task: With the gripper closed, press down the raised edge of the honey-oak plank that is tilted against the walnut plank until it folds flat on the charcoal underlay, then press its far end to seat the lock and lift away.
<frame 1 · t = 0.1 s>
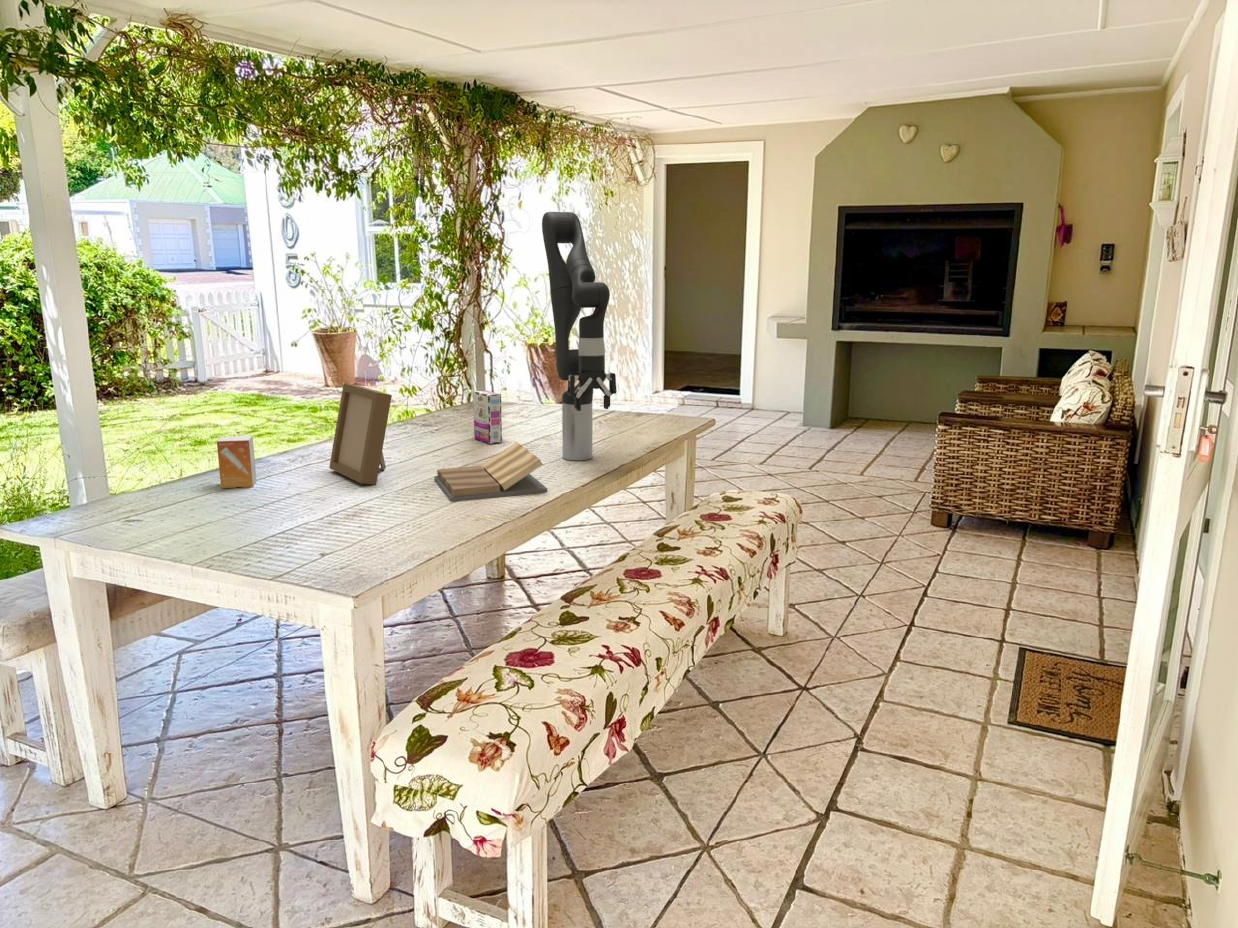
hand: (592, 409, 252), 17 cm above the table, tool pointing down, fingers open, 8 cm apart
small box: (239, 486, 234), on the table
oak plank: (511, 464, 236), point 5 cm above the table, hinge at 30.0°
walnut plank: (467, 487, 233), resting on underlay mat
photo frame: (370, 475, 245), on the table
candy bar box: (488, 441, 290), on the table
underlay mat: (490, 485, 235), on the table
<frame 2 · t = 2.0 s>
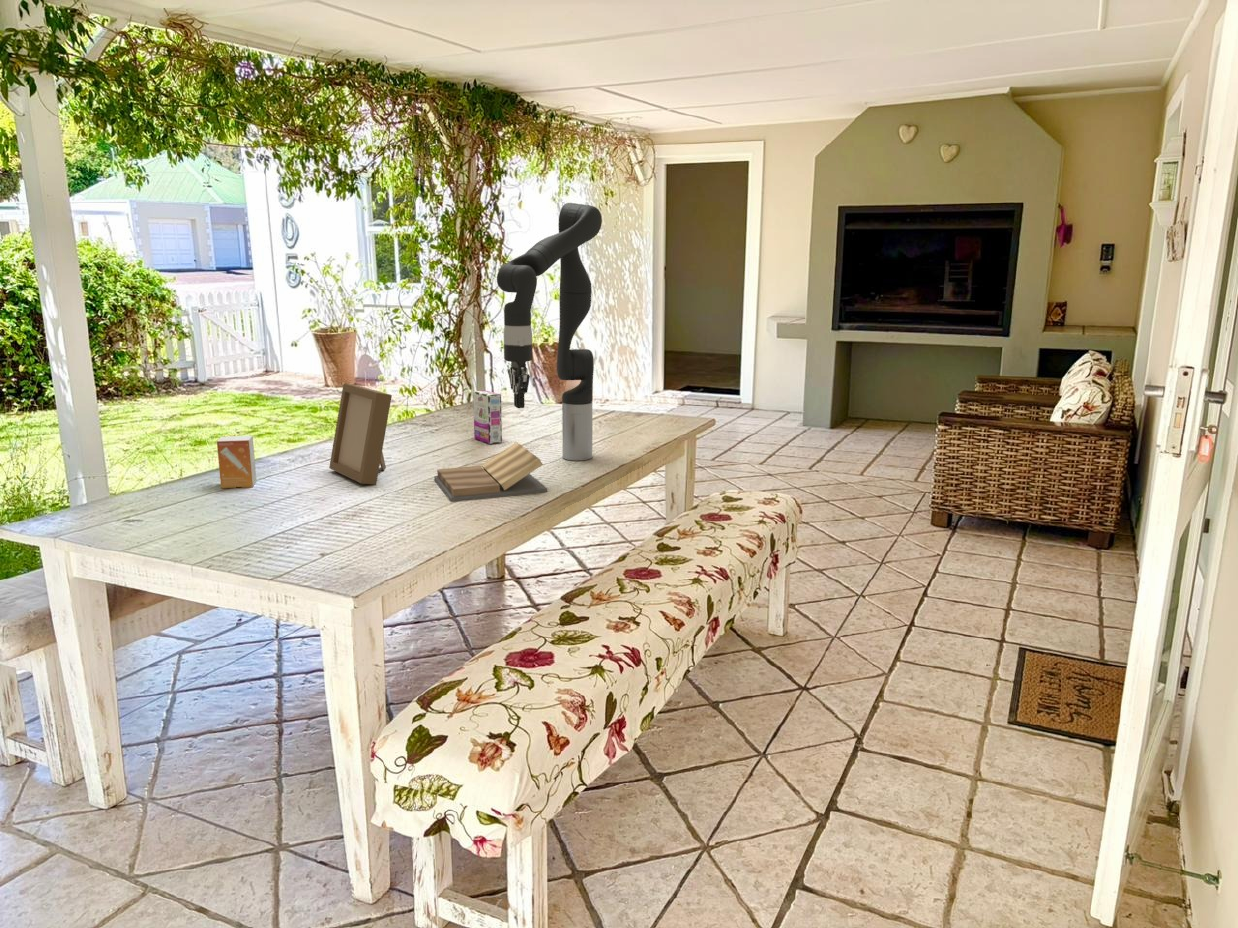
hand: (519, 407, 233), 21 cm above the table, tool pointing down, fingers closed
nothing on the table moved.
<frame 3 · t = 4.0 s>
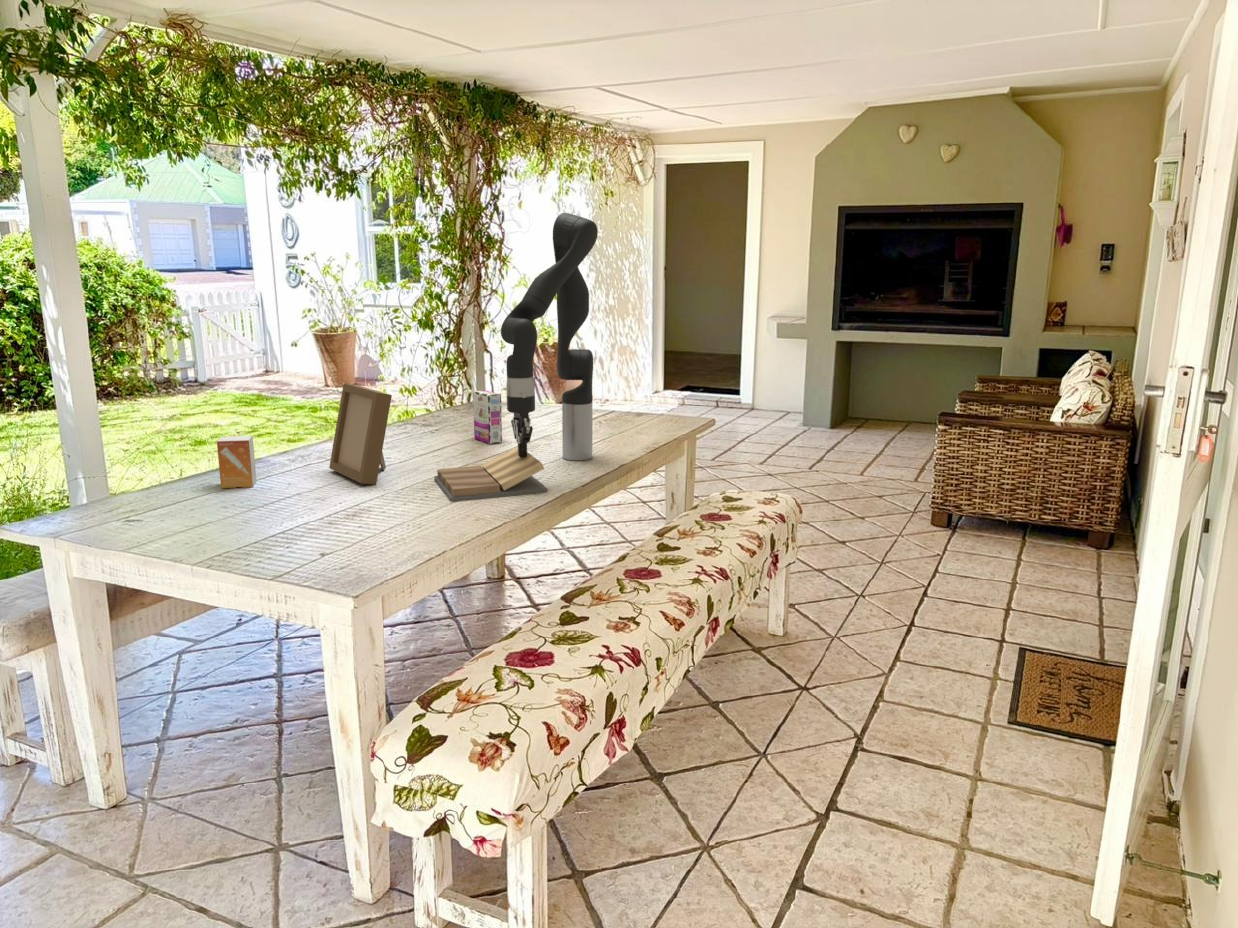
hand: (522, 456, 236), 7 cm above the table, tool pointing down, fingers closed
oak plank: (511, 467, 236), point 5 cm above the table, hinge at 24.1°, touching gripper
everything else where it was.
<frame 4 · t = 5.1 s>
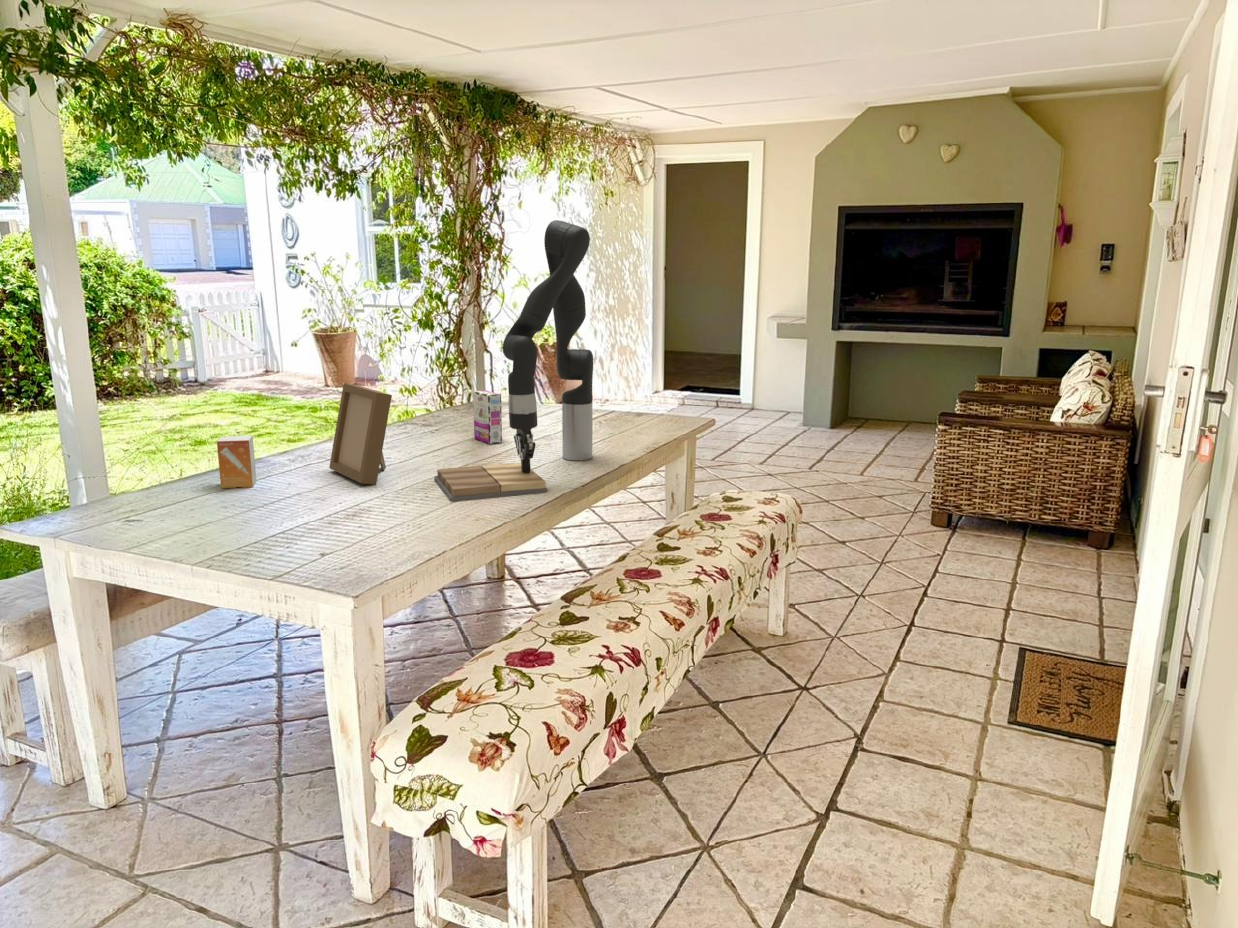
hand: (526, 472, 238), 3 cm above the table, tool pointing down, fingers closed
oak plank: (512, 476, 237), point 2 cm above the table, hinge at -0.5°, touching gripper, underlay mat
everything else where it was.
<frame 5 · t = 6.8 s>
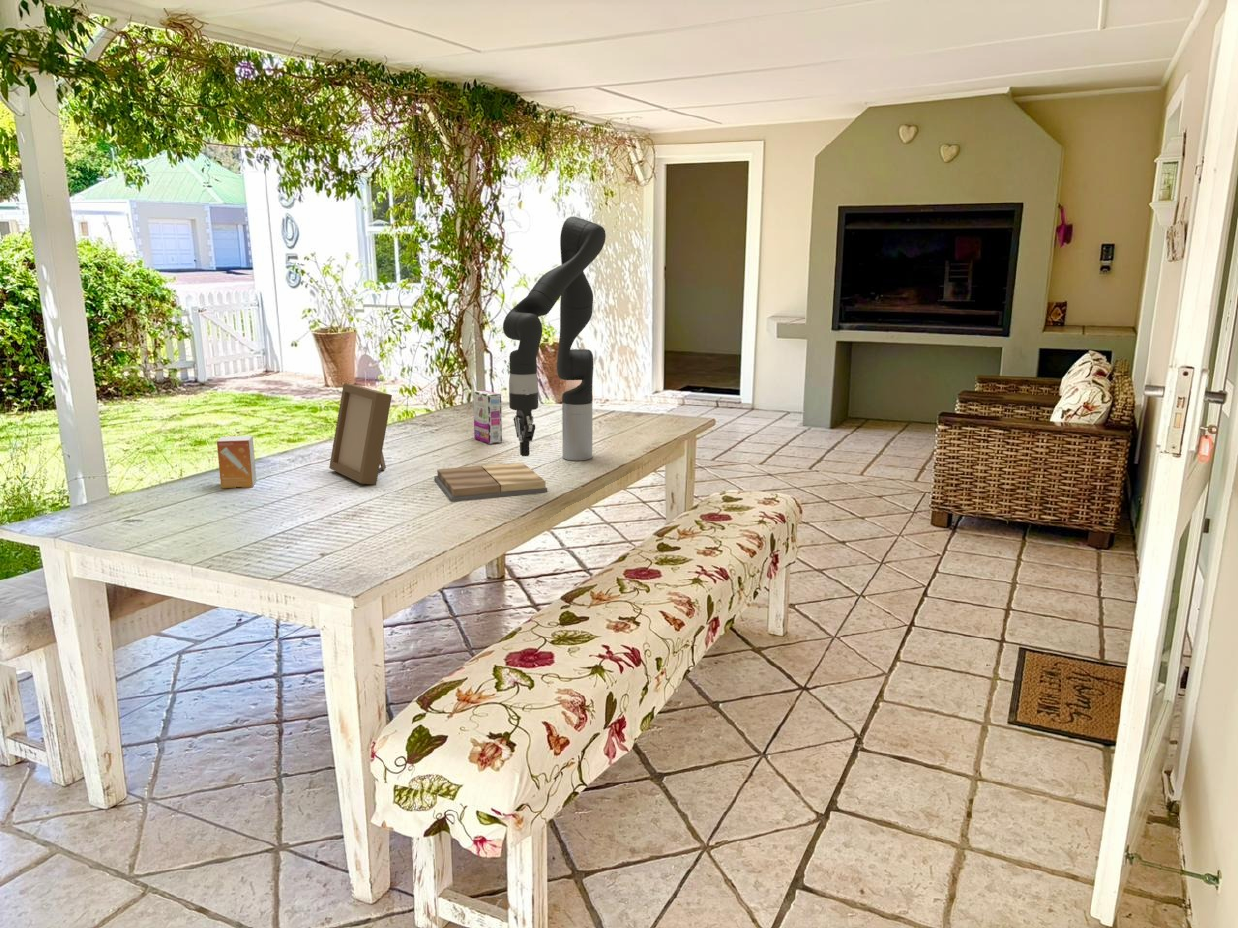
hand: (524, 455, 229), 9 cm above the table, tool pointing down, fingers closed
oak plank: (512, 476, 237), point 2 cm above the table, hinge at -0.5°, touching underlay mat
everything else where it was.
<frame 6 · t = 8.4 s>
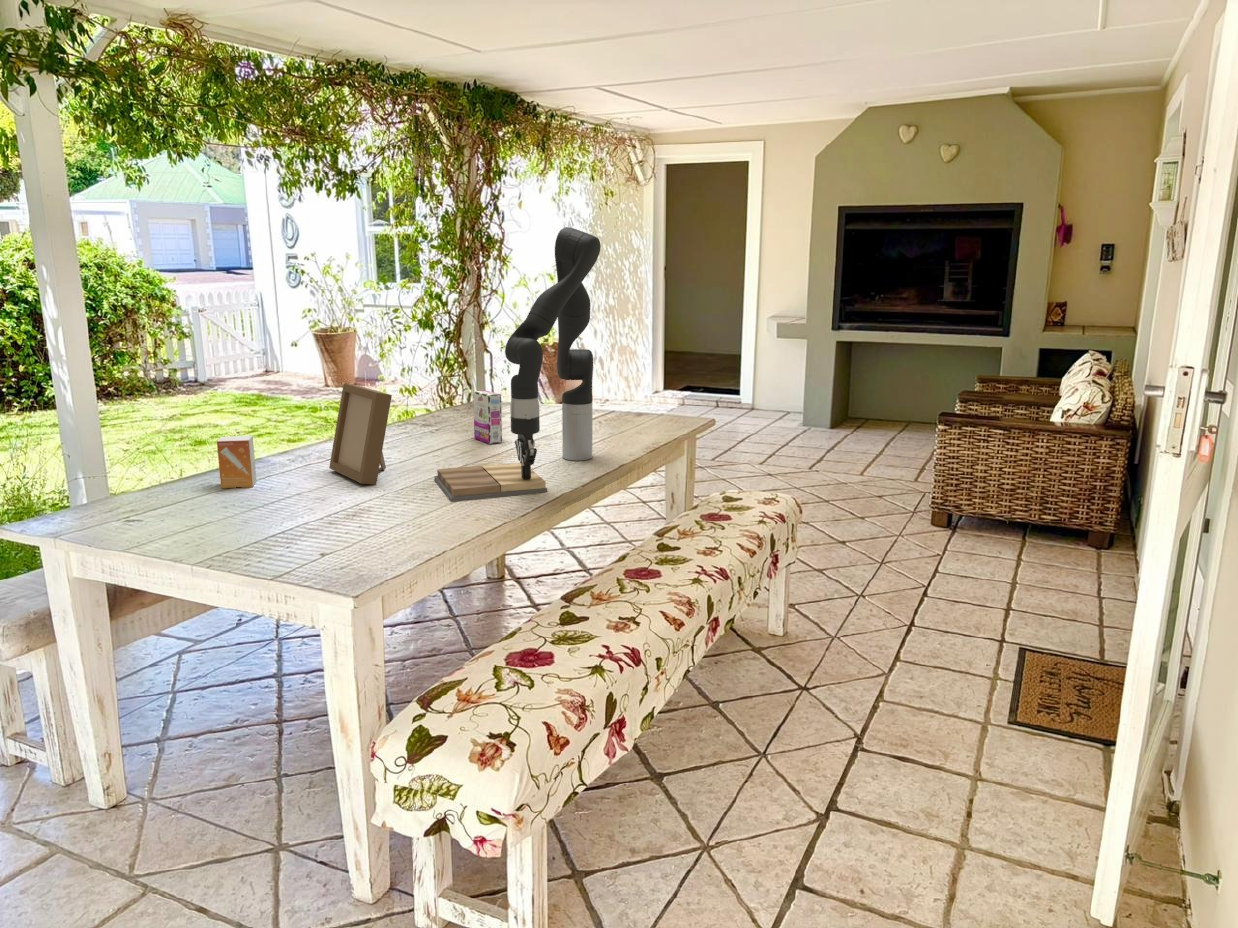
hand: (526, 478, 231), 3 cm above the table, tool pointing down, fingers closed
oak plank: (512, 476, 237), point 2 cm above the table, hinge at -0.5°, touching gripper, underlay mat
everything else where it was.
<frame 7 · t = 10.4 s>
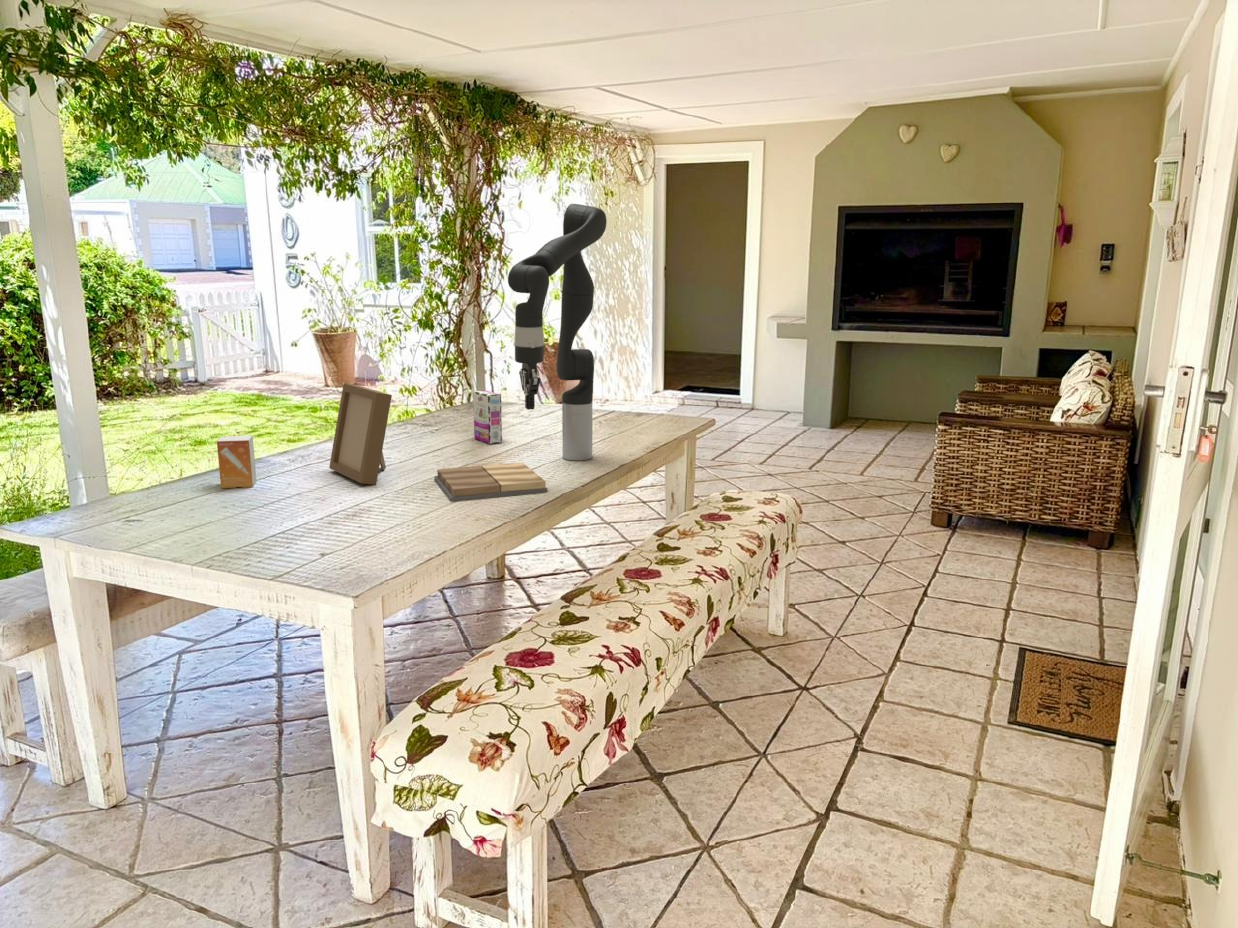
hand: (529, 408, 231), 21 cm above the table, tool pointing down, fingers closed
oak plank: (512, 476, 237), point 2 cm above the table, hinge at -0.5°, touching underlay mat
everything else where it was.
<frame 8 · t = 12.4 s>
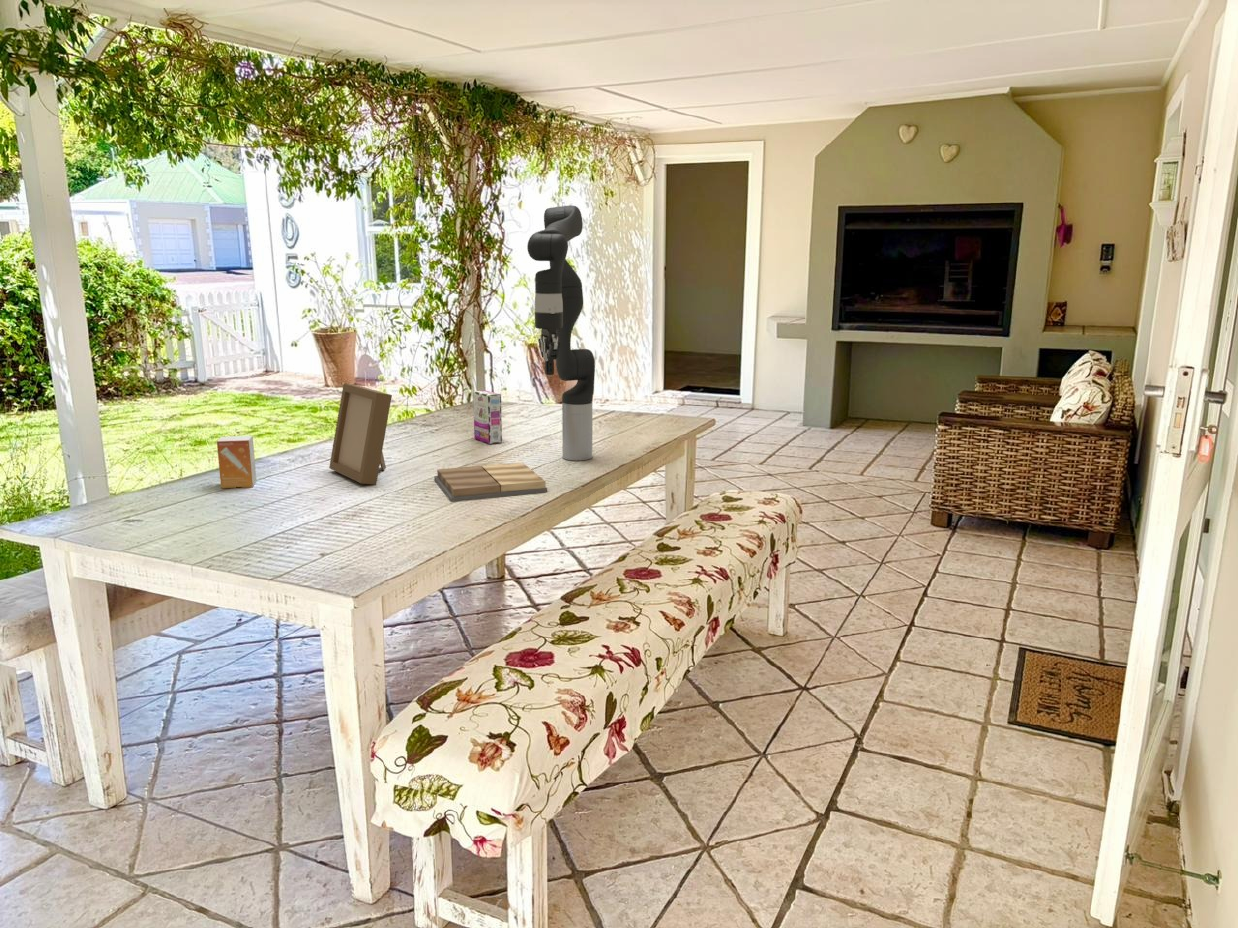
hand: (549, 374, 237), 29 cm above the table, tool pointing down, fingers closed
nothing on the table moved.
at the end: oak plank at +0° (first picture: +30°) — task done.
